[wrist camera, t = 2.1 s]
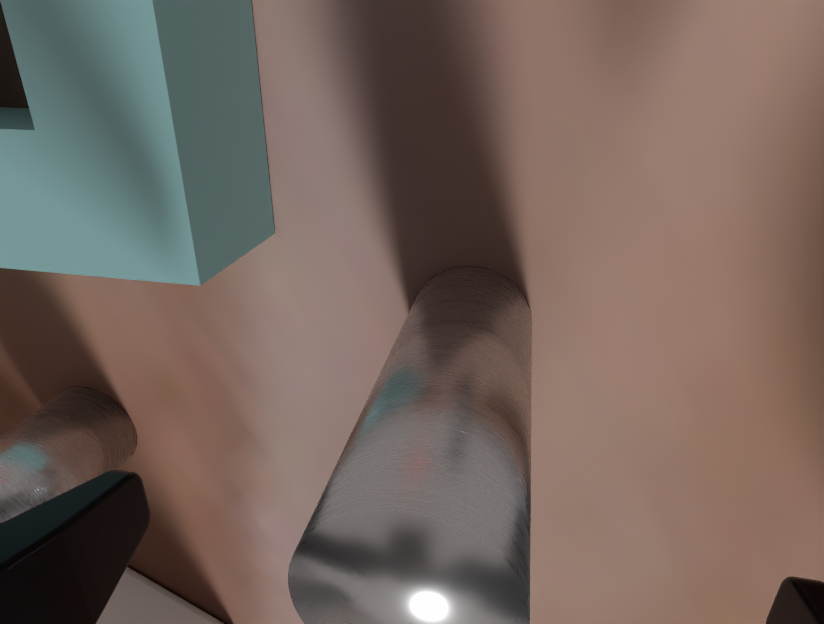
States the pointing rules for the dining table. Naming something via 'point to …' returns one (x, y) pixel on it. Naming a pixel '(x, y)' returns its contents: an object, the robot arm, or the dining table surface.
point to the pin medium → (433, 473)
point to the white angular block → (149, 604)
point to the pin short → (62, 448)
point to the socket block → (133, 139)
